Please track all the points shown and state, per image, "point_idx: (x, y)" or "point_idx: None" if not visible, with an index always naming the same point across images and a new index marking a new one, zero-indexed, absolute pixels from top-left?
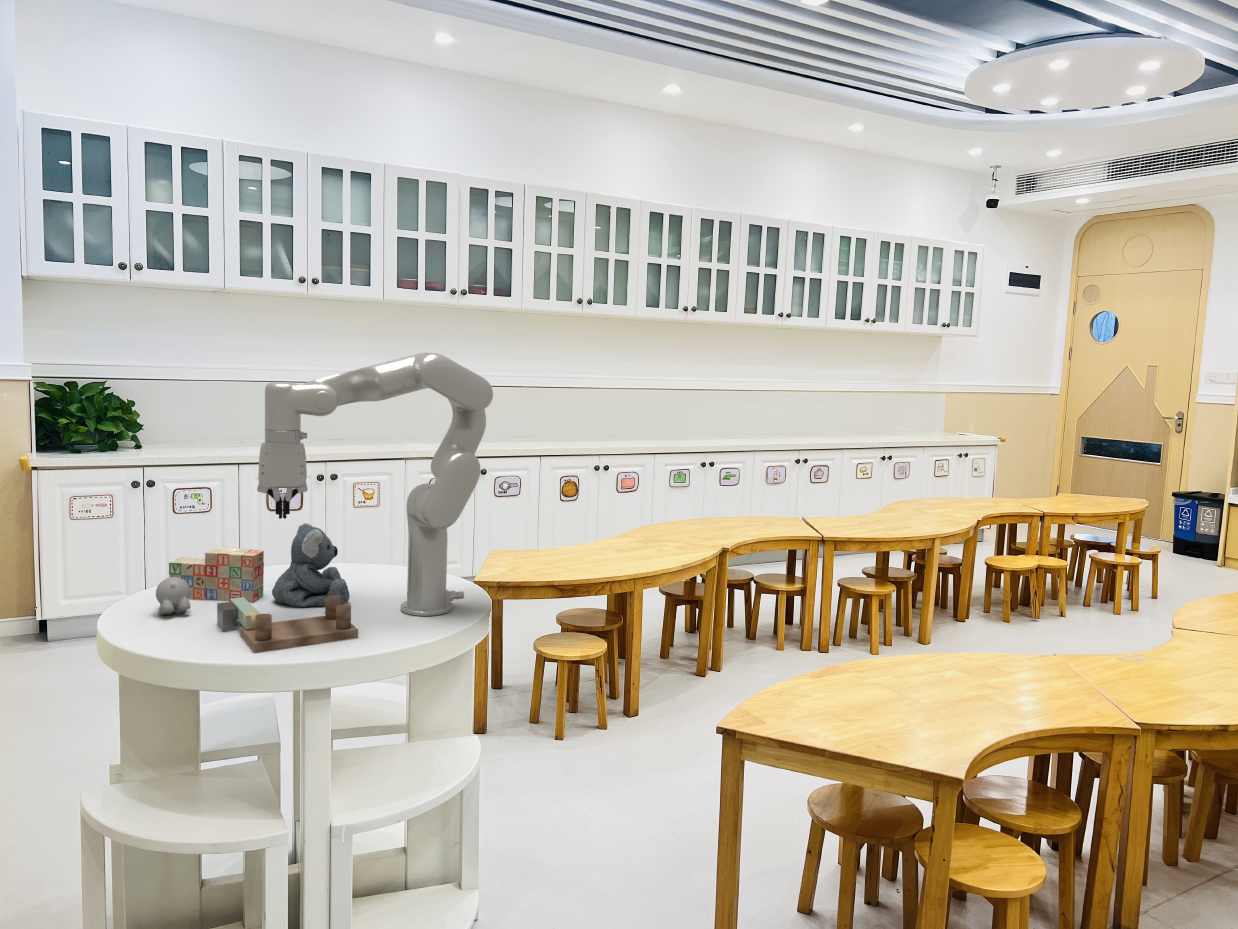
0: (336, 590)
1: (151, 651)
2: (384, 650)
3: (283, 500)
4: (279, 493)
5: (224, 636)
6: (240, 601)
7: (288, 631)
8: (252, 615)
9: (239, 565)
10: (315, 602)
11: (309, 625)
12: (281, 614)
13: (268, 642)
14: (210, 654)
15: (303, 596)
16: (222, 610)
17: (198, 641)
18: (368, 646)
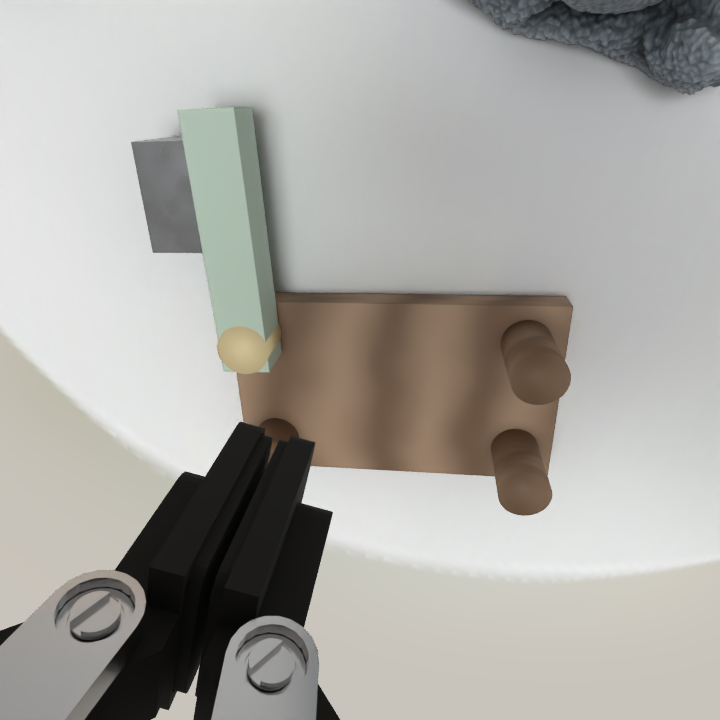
0: (685, 84)
1: (16, 322)
2: (555, 565)
3: (211, 625)
4: (96, 692)
5: (193, 279)
6: (216, 173)
7: (354, 410)
8: (243, 373)
9: None
10: (576, 43)
11: (428, 384)
12: (408, 95)
13: None
14: (158, 408)
15: (532, 11)
16: (153, 249)
17: (123, 293)
18: (534, 527)
